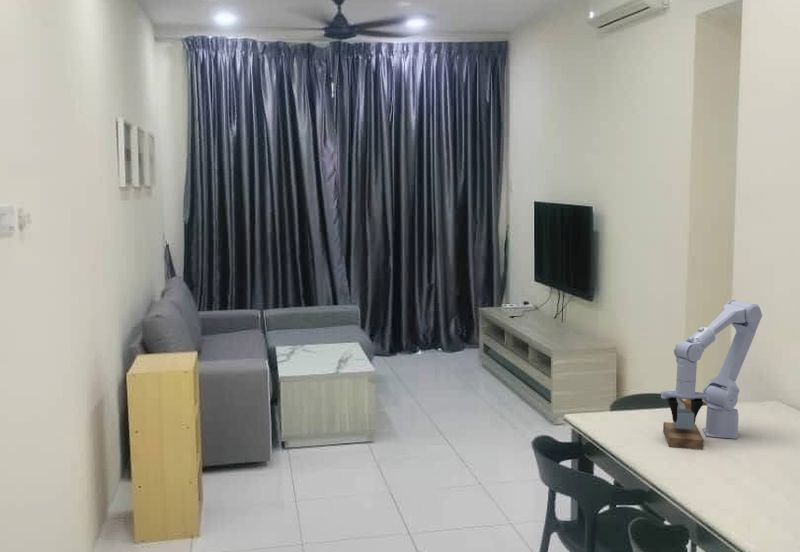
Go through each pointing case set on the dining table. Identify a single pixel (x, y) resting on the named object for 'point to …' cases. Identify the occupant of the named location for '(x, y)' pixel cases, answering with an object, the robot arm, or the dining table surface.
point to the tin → (684, 404)
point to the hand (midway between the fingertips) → (683, 421)
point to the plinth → (682, 437)
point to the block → (684, 419)
